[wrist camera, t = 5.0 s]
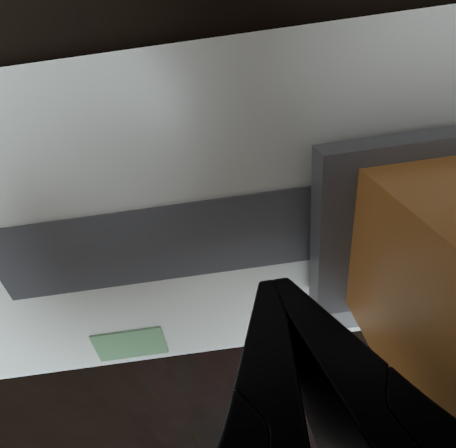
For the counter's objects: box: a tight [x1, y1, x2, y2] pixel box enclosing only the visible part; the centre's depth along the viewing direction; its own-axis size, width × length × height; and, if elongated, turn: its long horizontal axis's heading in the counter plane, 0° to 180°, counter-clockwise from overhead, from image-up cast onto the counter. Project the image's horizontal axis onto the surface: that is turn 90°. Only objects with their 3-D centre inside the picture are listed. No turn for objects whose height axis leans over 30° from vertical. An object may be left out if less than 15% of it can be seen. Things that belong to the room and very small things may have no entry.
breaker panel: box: [0, 3, 456, 379], centre depth 12 cm, size 22×12×2 cm, turn 97°
